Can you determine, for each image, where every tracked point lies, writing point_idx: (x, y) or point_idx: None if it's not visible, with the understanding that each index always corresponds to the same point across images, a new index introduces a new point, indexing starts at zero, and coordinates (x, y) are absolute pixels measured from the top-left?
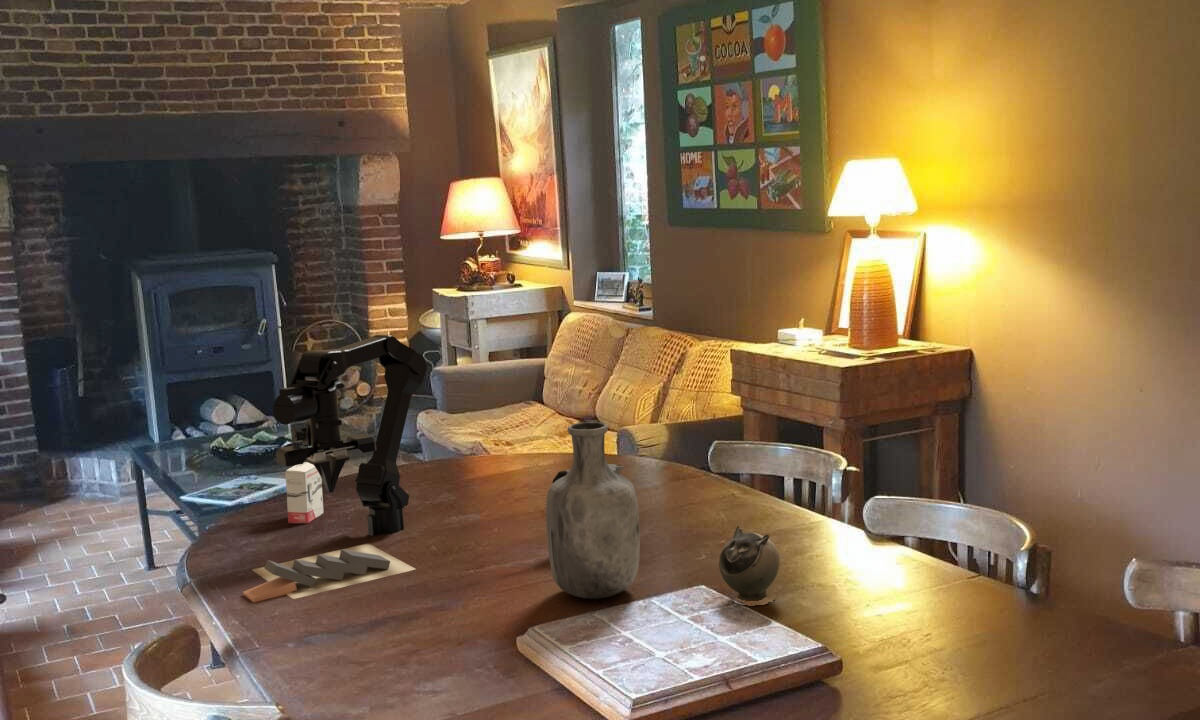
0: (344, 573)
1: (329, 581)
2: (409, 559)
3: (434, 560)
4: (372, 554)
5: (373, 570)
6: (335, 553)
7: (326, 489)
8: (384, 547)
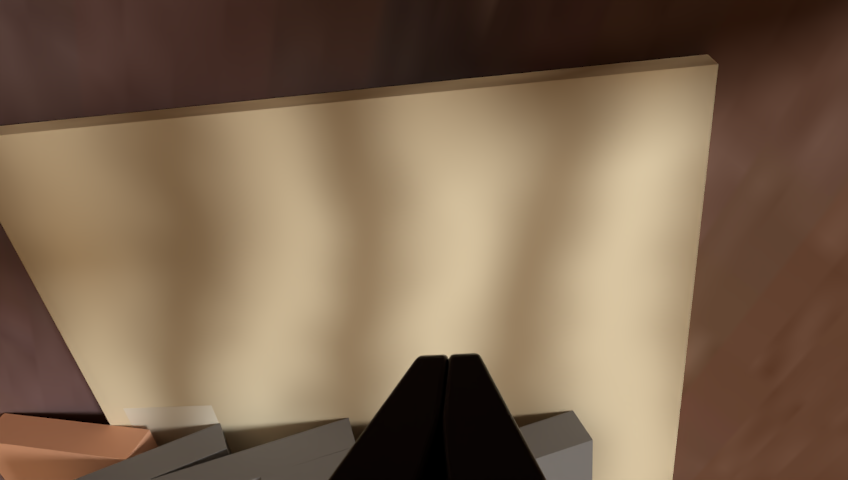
0: None
1: None
2: (756, 367)
3: (829, 436)
4: (552, 460)
5: None
6: (452, 143)
7: (402, 383)
8: (796, 100)
